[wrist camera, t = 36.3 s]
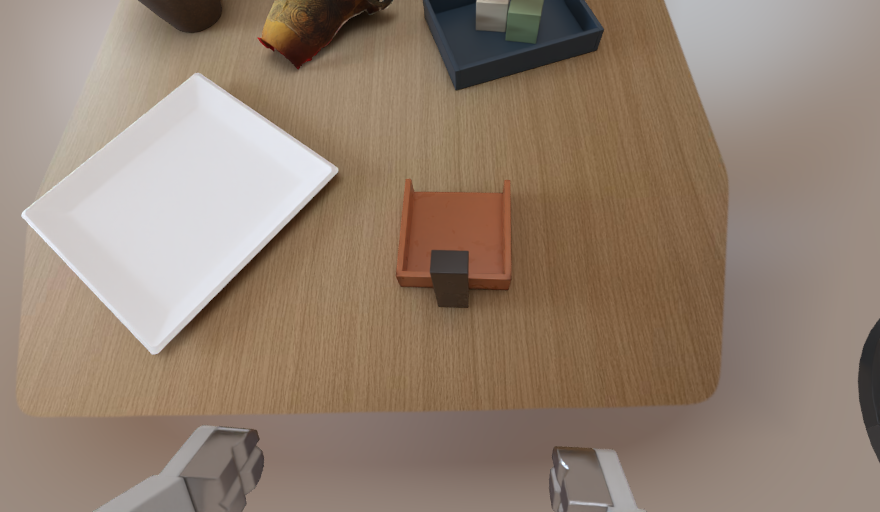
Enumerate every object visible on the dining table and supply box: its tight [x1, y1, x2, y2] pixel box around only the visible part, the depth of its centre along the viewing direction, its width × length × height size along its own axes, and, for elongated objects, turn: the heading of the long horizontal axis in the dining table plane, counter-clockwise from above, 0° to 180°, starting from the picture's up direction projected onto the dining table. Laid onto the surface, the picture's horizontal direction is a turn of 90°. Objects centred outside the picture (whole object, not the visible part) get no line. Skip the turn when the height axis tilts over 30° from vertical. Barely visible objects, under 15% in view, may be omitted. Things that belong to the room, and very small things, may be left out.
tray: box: [423, 0, 604, 90], centre depth 53 cm, size 19×14×3 cm
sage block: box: [505, 0, 544, 44], centre depth 52 cm, size 4×4×4 cm
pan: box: [396, 179, 511, 308], centre depth 39 cm, size 13×11×10 cm
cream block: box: [476, 0, 510, 32], centre depth 53 cm, size 4×4×4 cm
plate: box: [22, 73, 338, 354], centre depth 47 cm, size 26×26×2 cm
